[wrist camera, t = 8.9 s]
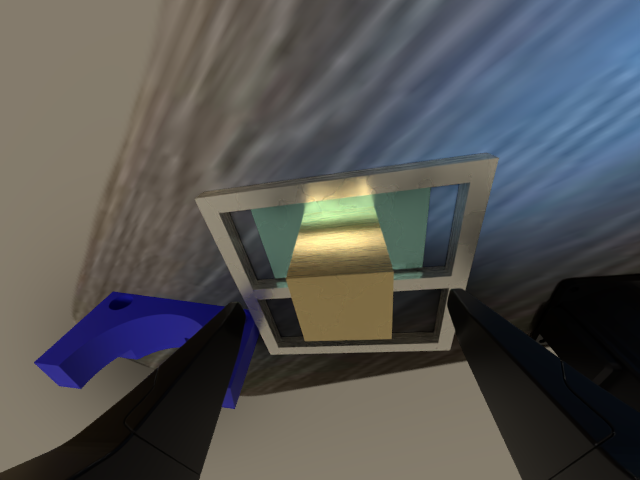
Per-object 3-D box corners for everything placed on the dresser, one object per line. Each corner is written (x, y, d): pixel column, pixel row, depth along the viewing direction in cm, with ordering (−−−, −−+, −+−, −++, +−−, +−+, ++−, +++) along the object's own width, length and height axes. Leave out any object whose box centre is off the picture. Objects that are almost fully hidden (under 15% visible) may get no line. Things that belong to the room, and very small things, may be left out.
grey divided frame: (486, 152, 11) (498, 157, 10) (445, 338, 19) (450, 350, 18) (203, 191, 13) (194, 198, 12) (273, 344, 21) (270, 354, 20)
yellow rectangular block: (373, 206, 13) (393, 271, 8) (375, 262, 15) (391, 339, 10) (304, 213, 13) (285, 279, 9) (314, 266, 15) (305, 341, 11)
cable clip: (132, 324, 21) (69, 395, 16) (114, 290, 19) (33, 362, 14) (260, 341, 21) (236, 417, 16) (258, 309, 19) (230, 388, 14)
